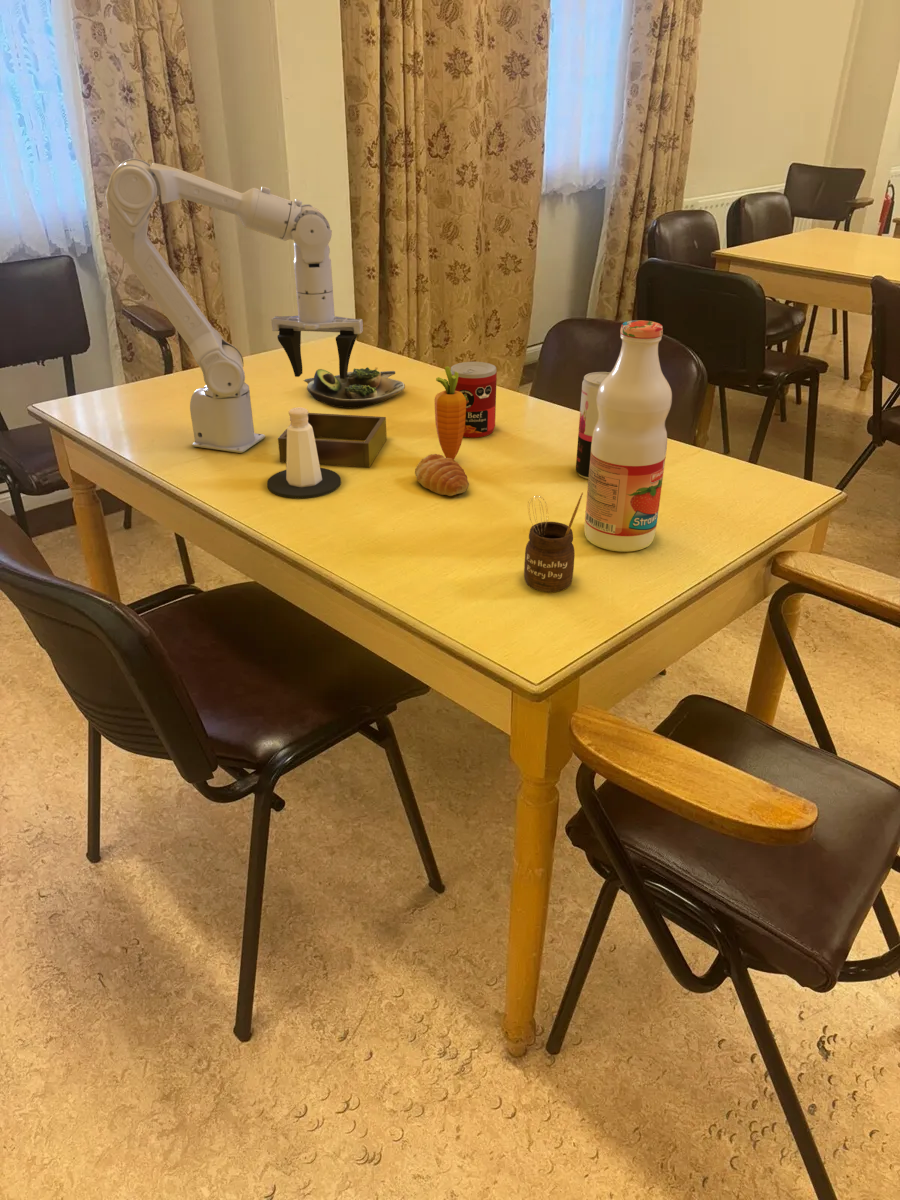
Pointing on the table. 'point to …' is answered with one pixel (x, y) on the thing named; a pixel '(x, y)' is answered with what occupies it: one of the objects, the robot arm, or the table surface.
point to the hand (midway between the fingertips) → (321, 376)
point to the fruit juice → (629, 444)
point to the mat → (282, 487)
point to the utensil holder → (550, 555)
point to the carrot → (450, 415)
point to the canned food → (477, 396)
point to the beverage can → (588, 420)
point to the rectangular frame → (343, 428)
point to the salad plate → (353, 387)
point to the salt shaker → (301, 451)
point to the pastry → (441, 475)
